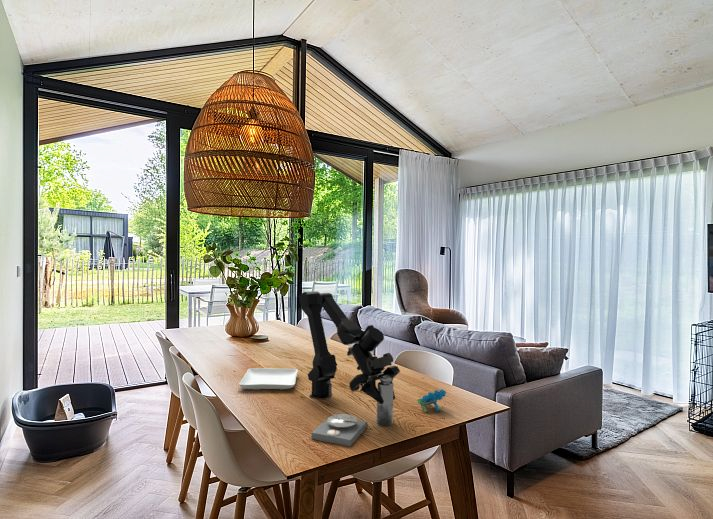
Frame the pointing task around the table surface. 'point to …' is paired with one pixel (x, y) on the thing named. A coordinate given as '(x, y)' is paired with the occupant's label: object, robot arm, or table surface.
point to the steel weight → (385, 401)
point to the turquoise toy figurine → (431, 399)
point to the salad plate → (269, 378)
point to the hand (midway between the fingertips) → (388, 401)
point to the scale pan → (342, 420)
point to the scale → (339, 433)
